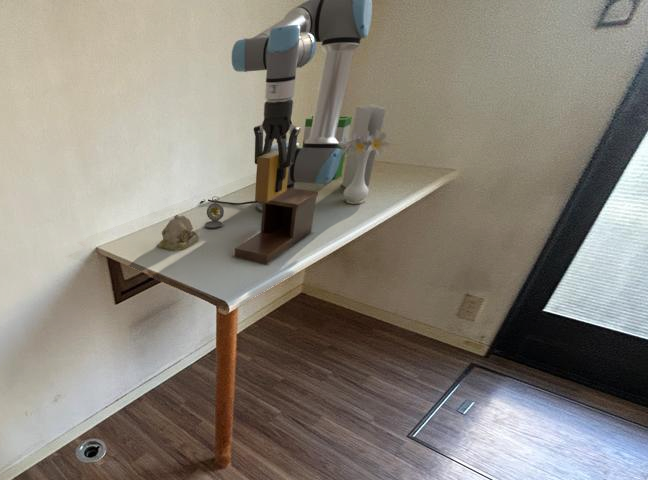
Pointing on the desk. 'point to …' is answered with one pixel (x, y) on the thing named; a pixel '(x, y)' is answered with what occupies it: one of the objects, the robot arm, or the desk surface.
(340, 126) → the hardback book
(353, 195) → the flower vase
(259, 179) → the ochre book
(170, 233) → the ceramic model
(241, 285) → the desk surface
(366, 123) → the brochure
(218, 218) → the pocket watch
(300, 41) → the robot arm
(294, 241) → the step shelf
